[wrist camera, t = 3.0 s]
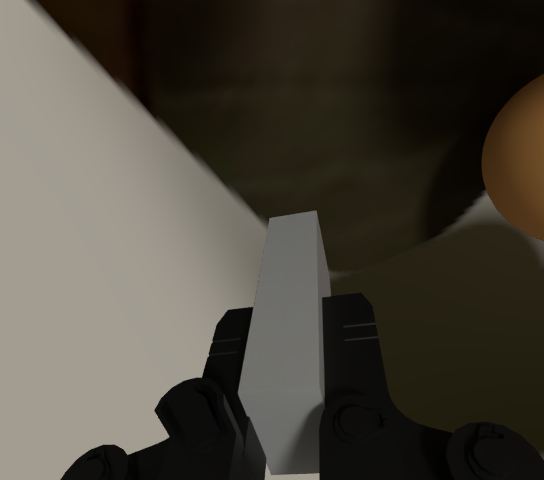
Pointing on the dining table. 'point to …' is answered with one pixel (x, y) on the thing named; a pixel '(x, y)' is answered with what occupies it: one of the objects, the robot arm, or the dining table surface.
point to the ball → (518, 159)
